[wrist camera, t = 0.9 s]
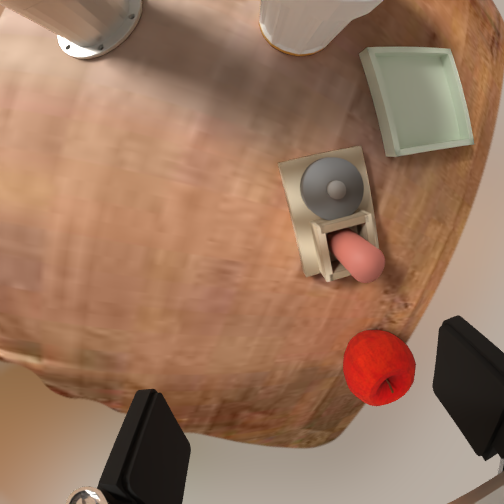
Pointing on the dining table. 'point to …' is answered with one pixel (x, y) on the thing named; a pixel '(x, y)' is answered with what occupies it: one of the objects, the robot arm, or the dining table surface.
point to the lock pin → (356, 254)
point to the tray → (417, 99)
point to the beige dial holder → (328, 205)
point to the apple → (378, 367)
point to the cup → (308, 22)
